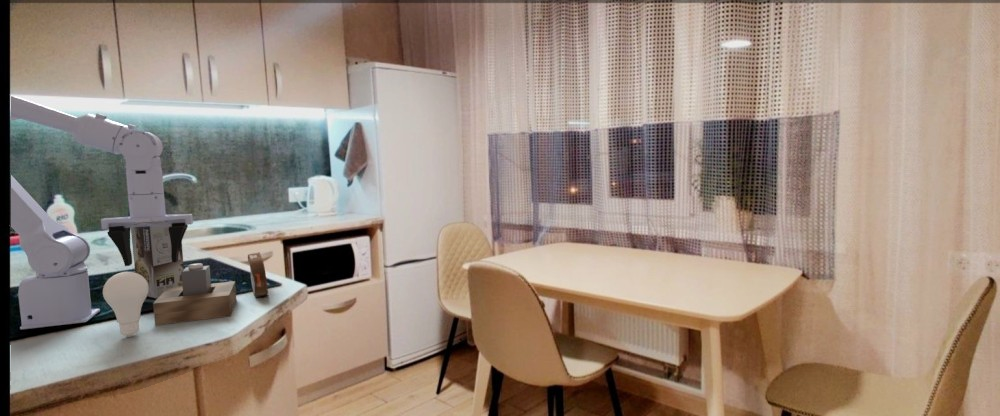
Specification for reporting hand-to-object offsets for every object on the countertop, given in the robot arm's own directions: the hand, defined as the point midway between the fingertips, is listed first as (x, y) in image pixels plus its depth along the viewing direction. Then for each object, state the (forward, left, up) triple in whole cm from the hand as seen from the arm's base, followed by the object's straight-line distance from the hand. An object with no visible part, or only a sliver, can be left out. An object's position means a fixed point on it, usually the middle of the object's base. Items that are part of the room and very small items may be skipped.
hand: (152, 263), depth 99 cm
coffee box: (-2, +15, -10) cm, 18 cm away
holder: (+8, -5, -9) cm, 13 cm away
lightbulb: (0, -16, -10) cm, 19 cm away
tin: (+18, +6, -10) cm, 21 cm away
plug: (+8, -5, -7) cm, 12 cm away
